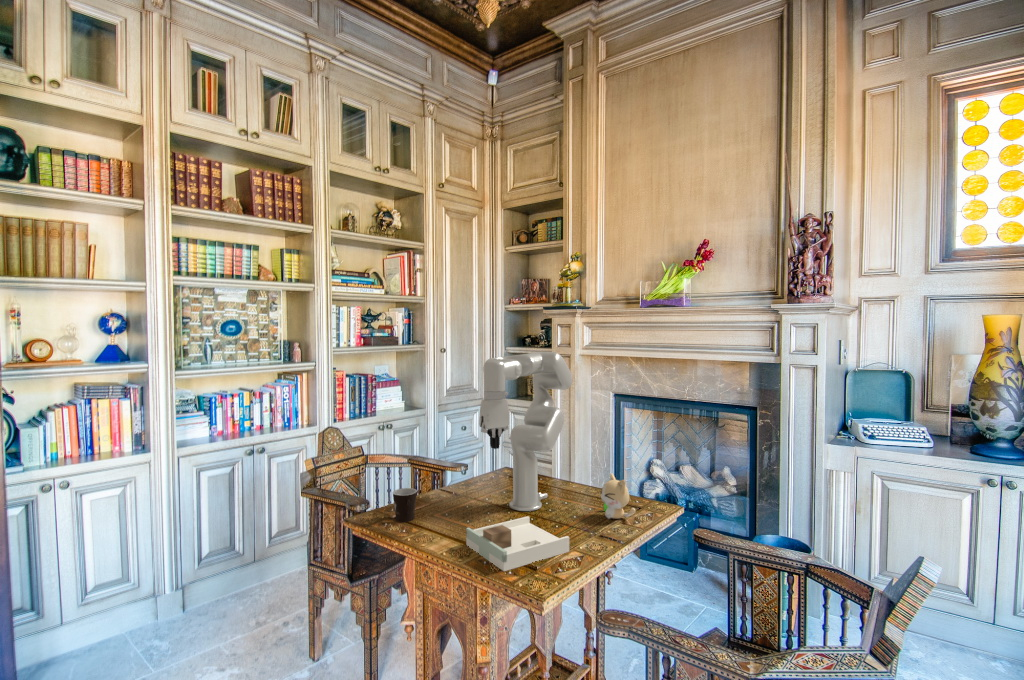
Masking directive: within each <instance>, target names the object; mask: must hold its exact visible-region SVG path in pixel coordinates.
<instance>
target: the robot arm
mask: <svg viewBox="0 0 1024 680" xmlns="http://www.w3.org/2000/svg"><path fill="white" fill-rule="evenodd" d="M482 370H483V399H482V400H481V403H480V407H479V408H480V409H479V415H478V416H479V417H478V418H479V419H478V424H479V425H478V426H479V427H480V433H483V434H487V435H488V437H489V446H490V448H491V449H494V450H496V449H500V444H501V443H500V442H501V441H500V439H501V437H502V434H503V433H504V432H506V431H508V430H509V425H510V409H509V405H508V399H507V397H506V396H508V394H509V392H508V391H506V380H507V381H514V380H517V379H518V378H521V377H528V376H532V386H533V394H534V395H533V399H532V401H531V403H530V405H529V406H528V408H527V410H526V412H525V414H524V417H523V423H524V424H517V425H515V426H514V427H512V429H511V432H510V434H509V435H510V436H509V438H510V444H511V449H512V485H513V486H512V493H513V495H512V500H511V501H509V503H508V504H509V508H510V509H512V510H514V511H519V512H531V511H532V512H533V511H536V510H540V509H541V508H542V506H543V504H542V503H543V502H541V500H544V499H547V498H548V497H549V495H548V493H546V492H544V493H541V492H538V491H539V488H538V485H539V484H538V477H539V476H538V475H539V474H538V472H539V471H538V469H539V468H538V458H537V455H536V453H535V452H539V453H540V452H542V453H548V452H551V451H552V449H553V448H554V446H555V445H556V442H557V440H558V437H559V436H560V433H561V431H562V430H563V427H564V422H565V415H564V412H563V410H562V409H561V408H559V407H558V406H557V407H556V406H554V399H553V397H552V395H551V393H549V391H548V390H559V391H560V390H562V391H563V390H568V389H570V388H571V386H572V385H573V374H572V371H571V369H570V368H569V366H568V364H567V363H566V360H565V359H564V357H562V355H561V354H560V353H559V352H555V351H536V352H534V351H533V352H529V353H521V354H515V355H505V356H499V357H498V356H497V357H491V358H489V359H487V360H486V361H485V362H484V363H483V367H482Z"/></svg>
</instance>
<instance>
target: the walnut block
mask: <svg viewBox="0 0 1024 680" xmlns="http://www.w3.org/2000/svg"><path fill="white" fill-rule="evenodd" d="M483 537H485V538H487V539H488V540H490V541H491V542H493V543H494V544H496V545H498V546H499V547H501V548H502V549H503V548H507V547H511V530H510V529H509V528H507V527H505V526H503V525H500V526H496V527H492V528H488V529H484V530H483Z"/></svg>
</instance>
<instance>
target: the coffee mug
mask: <svg viewBox="0 0 1024 680" xmlns="http://www.w3.org/2000/svg"><path fill="white" fill-rule="evenodd" d="M417 495H418V490H417V489H415V488H412V487H411V488H410V487H409V488H408V487H404V488H398V489H395V490H393V491H392V499H393V505H394V506H393V507H394V512H395V513H394V515H395V521H396V522H398V523H409V522H412V521H414V520H413V519H415V511H416V502H417Z"/></svg>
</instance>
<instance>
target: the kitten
mask: <svg viewBox="0 0 1024 680" xmlns="http://www.w3.org/2000/svg"><path fill="white" fill-rule="evenodd" d="M600 497H601V500H602V502H603V512H604V511H605V514H604V516H605V518H607V519H608V520H610V519H613V520H615V519H618V520H619V519H622V518H628V517H631V516H633V515H634V514H636V508H634V507H631V508H630V510H629V511H628V512H625V511H624V509H623V508H624V507H626V506H627V504H629V502H630V492H629V488H628V487H627V485H626V480H625V479H622V480H619V479H616V477H615V475H614V473H613V472H611V473H610V475H609V480H608V481H606V482H605V483H604V484H603V486H602V487H601V490H600Z"/></svg>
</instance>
